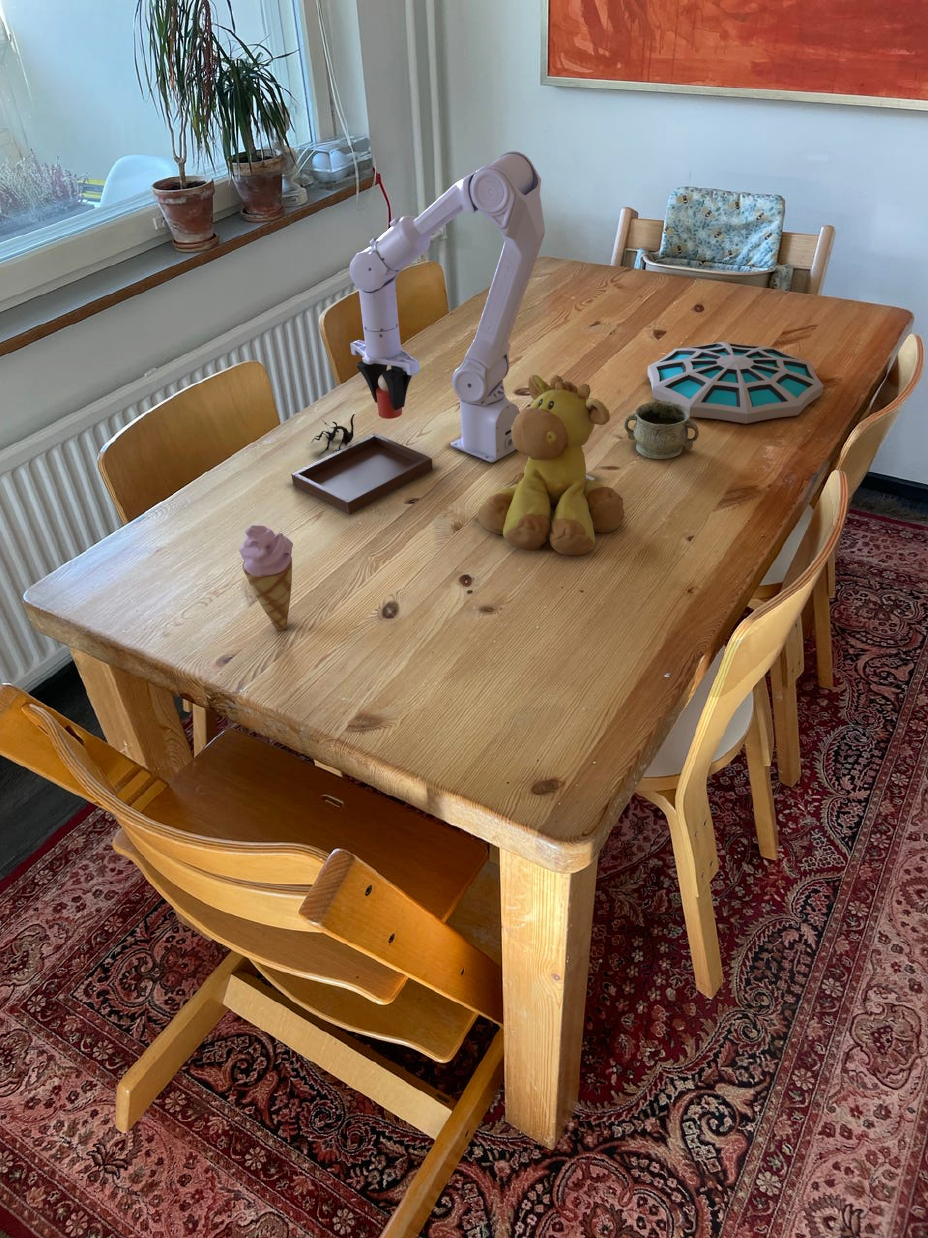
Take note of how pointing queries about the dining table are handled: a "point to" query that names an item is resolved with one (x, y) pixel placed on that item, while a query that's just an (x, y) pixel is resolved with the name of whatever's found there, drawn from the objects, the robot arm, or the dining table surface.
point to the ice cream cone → (269, 571)
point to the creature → (346, 435)
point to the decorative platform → (735, 382)
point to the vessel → (661, 429)
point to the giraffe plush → (554, 474)
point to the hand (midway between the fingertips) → (389, 404)
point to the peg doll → (385, 401)
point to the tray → (362, 473)
